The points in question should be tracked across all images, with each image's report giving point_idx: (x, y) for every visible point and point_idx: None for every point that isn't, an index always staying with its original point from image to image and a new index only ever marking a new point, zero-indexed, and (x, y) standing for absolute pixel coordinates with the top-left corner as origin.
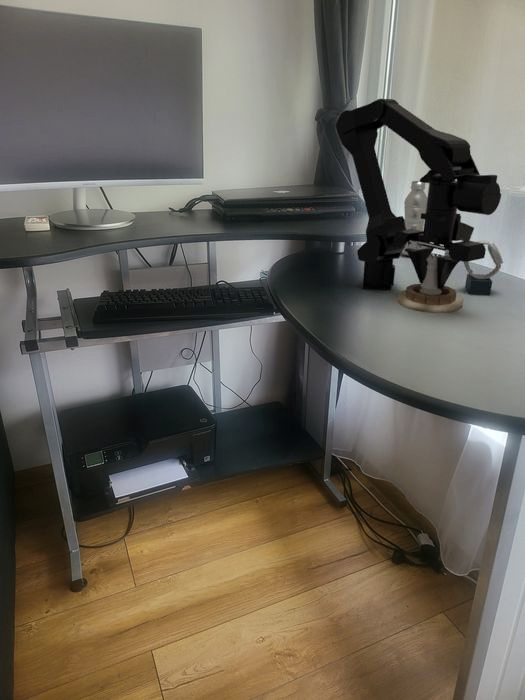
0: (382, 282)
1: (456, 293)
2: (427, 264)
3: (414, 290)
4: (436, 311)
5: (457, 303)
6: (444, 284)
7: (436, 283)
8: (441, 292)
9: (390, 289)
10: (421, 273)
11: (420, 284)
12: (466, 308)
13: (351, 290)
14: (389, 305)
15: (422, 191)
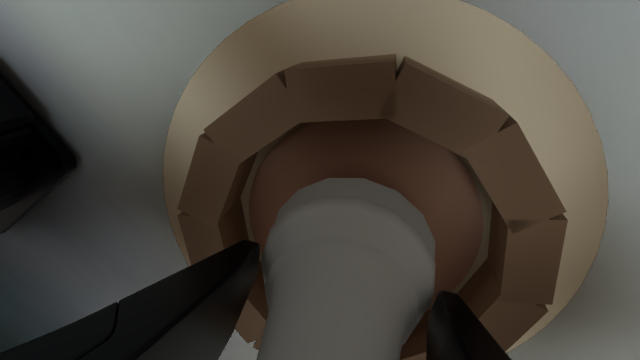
0: (4, 190)
1: (565, 210)
2: (153, 347)
3: (234, 230)
4: None
5: (577, 231)
6: (474, 319)
7: (404, 340)
8: (434, 241)
9: (75, 162)
10: (214, 347)
11: (210, 173)
12: (631, 171)
13: (5, 274)
14: (250, 355)
15: None
